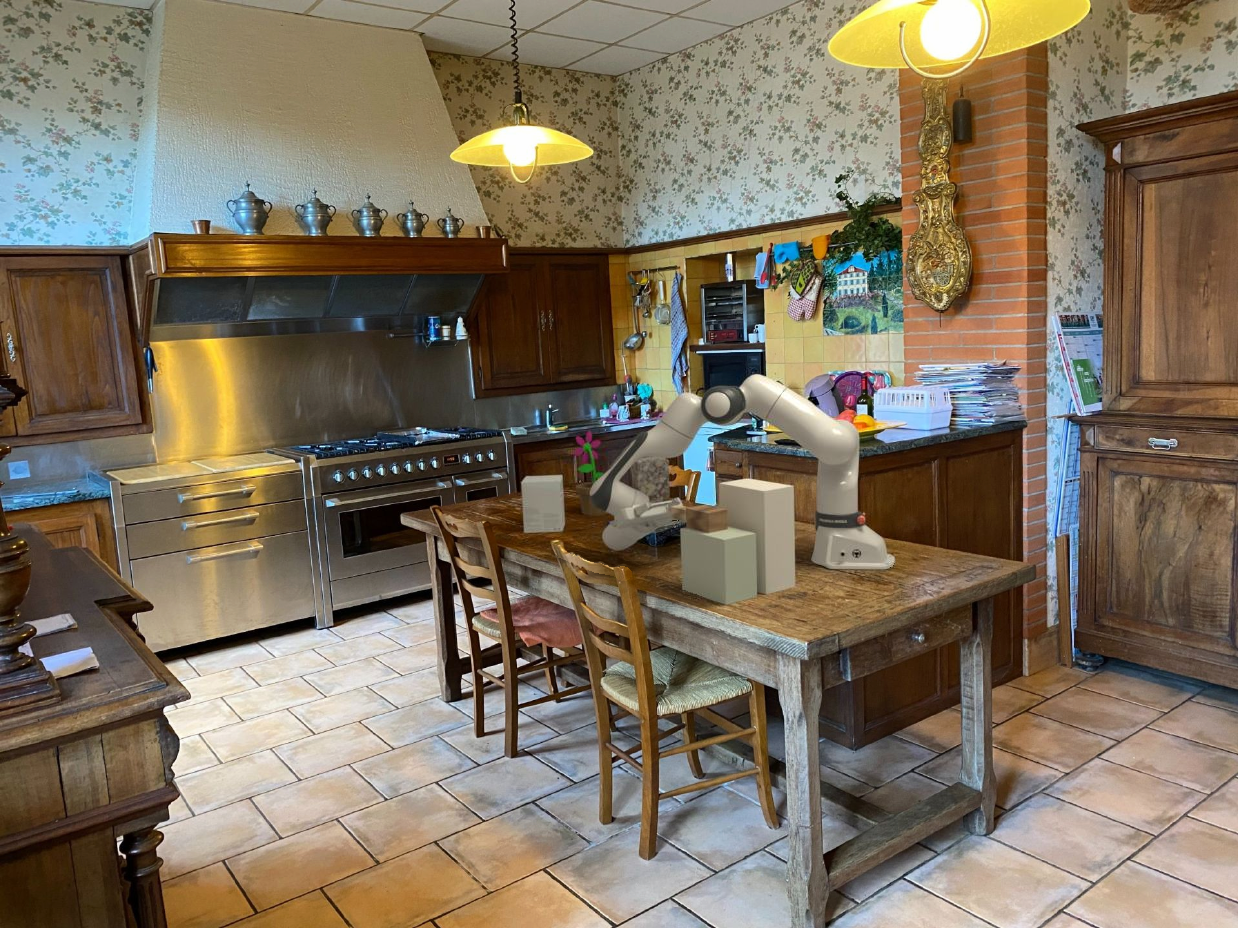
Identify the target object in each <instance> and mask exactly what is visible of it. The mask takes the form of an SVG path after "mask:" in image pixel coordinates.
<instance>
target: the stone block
mask: <svg viewBox="0 0 1238 928" xmlns="http://www.w3.org/2000/svg"><path fill="white" fill-rule="evenodd" d="M669 465H670V461H669V460H668V458H661V457H651V456H648V457H642V458H639V459H637V460H636V461H635V462H634V463H633V465H632V466H631V467H630V474H631V483H632V485H631V486H632V488H633V489H636V490H638V491H640V492H642V493H644V494H645V495H647V496H648V497H649V498H650V501H651V504H653V503H659V502H665V501H670V498H671V497H670V469H669Z"/></svg>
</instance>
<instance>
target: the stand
mask: <svg viewBox="0 0 1238 928" xmlns="http://www.w3.org/2000/svg"><path fill="white" fill-rule="evenodd" d="M718 496H719V497H718V501H719V503H718V504H719V507H720V508H722V509H726V510H727V524H728V529H727V530H722V531H717V532H712V533H707V532H703V531H699V530H695V529H691V528H687V527H682V528H680V553H681V554H680V557H681V560H680V561H681V585H682V586H681V587H682V588H681V589H682V590H681V591H684V590H686V591H685V592H687V591H688V592H687V593H690V592H691V593H690V594H692V593H693V594H692V595H695V594H697V595H696V596H698V595H699V597H701V596H702V598H705V599H707V600H710V601H713V602H715V603H719V604H721V605H725V606H728V605H731V604H735V603H739V602H742V601H746V600H751V599H754V598H755V599H756V598H757V597H758V593H759V594H764V595H770V594H772V593H777V592H781V591H784V590H785V591H786V590H789V589H792V588H793V589H794V588H796V555H795V553H796V552H795V551H796V550H795V549H796V545H795V544H796V543H795V541H796V540H795V538H796V537H795V535H796V533H795V485H790V484H784V483H783V484H782V483H778V482H772V481H765V480H760V479H754V478H742V479H736V480H731V481H729V480H728V481H723V482H718Z"/></svg>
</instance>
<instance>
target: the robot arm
mask: <svg viewBox="0 0 1238 928" xmlns="http://www.w3.org/2000/svg"><path fill="white" fill-rule="evenodd" d="M746 413H749V414H753V415H755V416H757V417H758V418H760V419H761V420H763V421H765V422H766V423H767V424H769V425H771V426H773V427H774V428H776V429H778V431H781V432H782V433H783V434H785V435H787V436H788V437H790V438H791V439H792V440H794V441H795V442H796V443H798V445H800V446H801V447H802V448H804V449H805V450H806V451H807V452H809V453H810V454H811V455H812V456H814V457H815V458H817V459H818V463H817V465H818V466H817V476H816V510H815V513H814V528H815V529H814V530H815V542H814V548H813V552H812V556H811V559H810V560H811V561H812V563H813V564H816V565H820V566H823V567H826V568H827V569H830V570H888V569H891V568H893V567H894V566H895V564H896V558H895V556H894V555H892V554H890V553H888V550H887V546H886V542H885V540H884V538H883V536H881V535H879V534H878V533H877V532H875V531H874V530H873V529H871V528H870V527H869V526H867V525H866V513H865V512H862V511H859V508H858V507H859V506H858V504H859V503H858V501H859V500H858V499H859V498H858V494H859V493H858V489H859V488H858V487H859V486H858V485H859V484H858V483H859V480H858V479H859V463H860V461H859V460H860V434H859V430H858V429H857V427H856V426H855V425H854V424H853V423H852V422H850V421H849V420H845V419H834V418H832V417H831V416H830V415H828V414H827V413H825V412H823V411H822V410H821V409H820V408H819V407H817V406H816V405H815V404H814V403H813V402H812V401H810V400H809V399H807V398H805V397H804V396H803V395H800V394H798V393H797V392H795V391H794V390H792V389H791V388H789V387H787V386H786V385H783V384H782V383H780V382H778V381H776V380H774V379H772V378H770V377H767V376H765V375H763V374H758V373H757V374H756V373H755V374H752V375H750V376H748V377H747V378H746V379H745V380H744V381H743V382H742V384H741V385H740V386H736V385H717V386H713V387H711V388H709V389H708V390H706V391H705V393H704V394H703V395H702V397H701V396H699V395H697V394H695V393H692V392H682V393H680V394H678V395H677V396H676V397H675V399H674V400H673V401H672V402H671V403H670V405H669V406H668V407H667V409H666V410H665V411H664V413H663V414H662V416H661V418H660V420H659V421H658V422H657V424H655V426H653V428H651V429H649V430H648V431H641V432H639V433H638V434H637V435H636V436H635V437H634V438H633V439H632V440H631V441H630V442H629V443H628V444H627V446H626V447H625V448H624V449H623V450H622V452H621V453H620V454H619V455H618V457H617V458H616V459H615V460H614V461H613V462H612V463H611V464H610V465H609V467H608V468H607V469H606V470H605V472H602V473H603V474H602V475H601V476H600V477H599V478H596V479H597V480H596V482H595V483H594V484H593V486H592V488H591V490H590V493H589V497H590V500H591V503H592V505H593V506H594V508H597V509H599V510H602V511H604V512H605V511H606V512H608V514H610V515H612V516H613V517H614V518H613V519H614V520H612V521H611V522H610V523H608V525H607V526H606V527H605V528H604V530H603V531H602V535H601V537H602V541H603V543H604V544H605V545H606V546H607V548H609V549H611V550H613V551H618V552H619V551H623V550H625V549H627V548H630V547H631V546H633V545H634V544H635V543H637V542H638V540H641V539H643V538H644V537H646V536H647V535H650V534H651V533H653V532H654V531H658V530H661V529H665V528H666V527H668V526H669V523H670V522H673V521H672V520H674V518H671V514H670V507H671V506H676V505H682V506H684V504H683V502H682V500H681V499H680V497H674V498H672V499H671V500H669V501H665V502H659V503H653V504H651V501H650V498H649V497H648V496H647V495H645V494H644V493H642V492H640V491H638V490H636V489H633V487H631V486H630V485H627V484H625V483H624V482H621V481H620V480H621V479H623V476H624V475H625V474H626V473H627V472H628V471H629V469H631V466H632V465H633V463H634V462H635V461H636V460H637V459H639V458H645V457H661V458H666V459H671V458H677V457H679V456H682V455H683V454H684V453H685V452H686V451H687V450H688V448H689V447H690V445H691V444H692V443H693V441H694V440H695V437H696V436H697V434H698V432H699V431H700V429H701V428H702V426H704V425H705V424H706V423H711V424H714V425H717V426H720V427H727V426H733V425H736V424H738V423H739V422H740V421H741V420H742V419H743V417H744V415H745V414H746ZM894 563H895V564H894ZM893 565H894V566H893ZM890 567H891V568H890Z"/></svg>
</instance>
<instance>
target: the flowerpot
mask: <svg viewBox="0 0 1238 928" xmlns="http://www.w3.org/2000/svg"><path fill="white" fill-rule="evenodd" d="M585 435H586V436H585V440H584V439H583V438H582V437H581V436H576V437H575V441H576V443H577V444H578V445H579V446H582V447H578V448H576V449H575V450H574V451H573V453H572V455H573V456H580V455H582V458H581V462H582V465H581V466H579V467H578V468H577V470H578V471H579V472H582V473H590V472H592V479H593V480H592V482H585V483H584V482H583V483H579V484H576V485H575V490H574V491H575V493H577V494H578V498H579V503H580V509H581V514H582V515H584V516H592V517H593V516H594V517H595V516H597V517H598V516H605V515H608V514H609V513H608V512H606V511H605V512H604V511H602V510H599V509H597V508H594V506H593V505H592V503H591V500H590V497H589V493H590V490H591V488H592V486H593V484H594V483H595V482H596V481H597V480H596V479H598V478H599V477H600V476H601V475H602V474H603V473H604V472H599V471H598V472H596V465H595V460H598V459H599V455H598V453H597V452H596V451H595V450H593V449H592V448H597V447H599V446H600V444H601V440H597V439H596V440H592V439H593V434H592V431H591V430H588V432H587V433H586V434H585ZM589 457H590V459H591V460H590V461H591V463H588V462H589Z"/></svg>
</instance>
